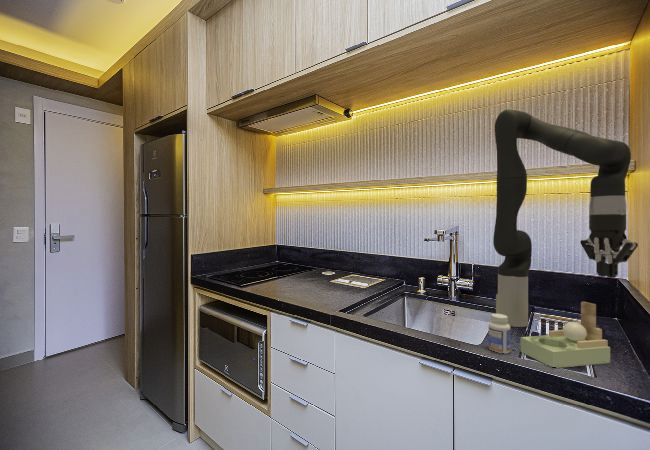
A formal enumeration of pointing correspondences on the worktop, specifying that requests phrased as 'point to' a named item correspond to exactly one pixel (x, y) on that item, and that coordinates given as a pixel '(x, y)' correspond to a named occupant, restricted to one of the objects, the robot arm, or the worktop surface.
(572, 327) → the ball
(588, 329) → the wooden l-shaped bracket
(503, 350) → the pill bottle
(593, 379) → the worktop surface
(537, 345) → the green tray
